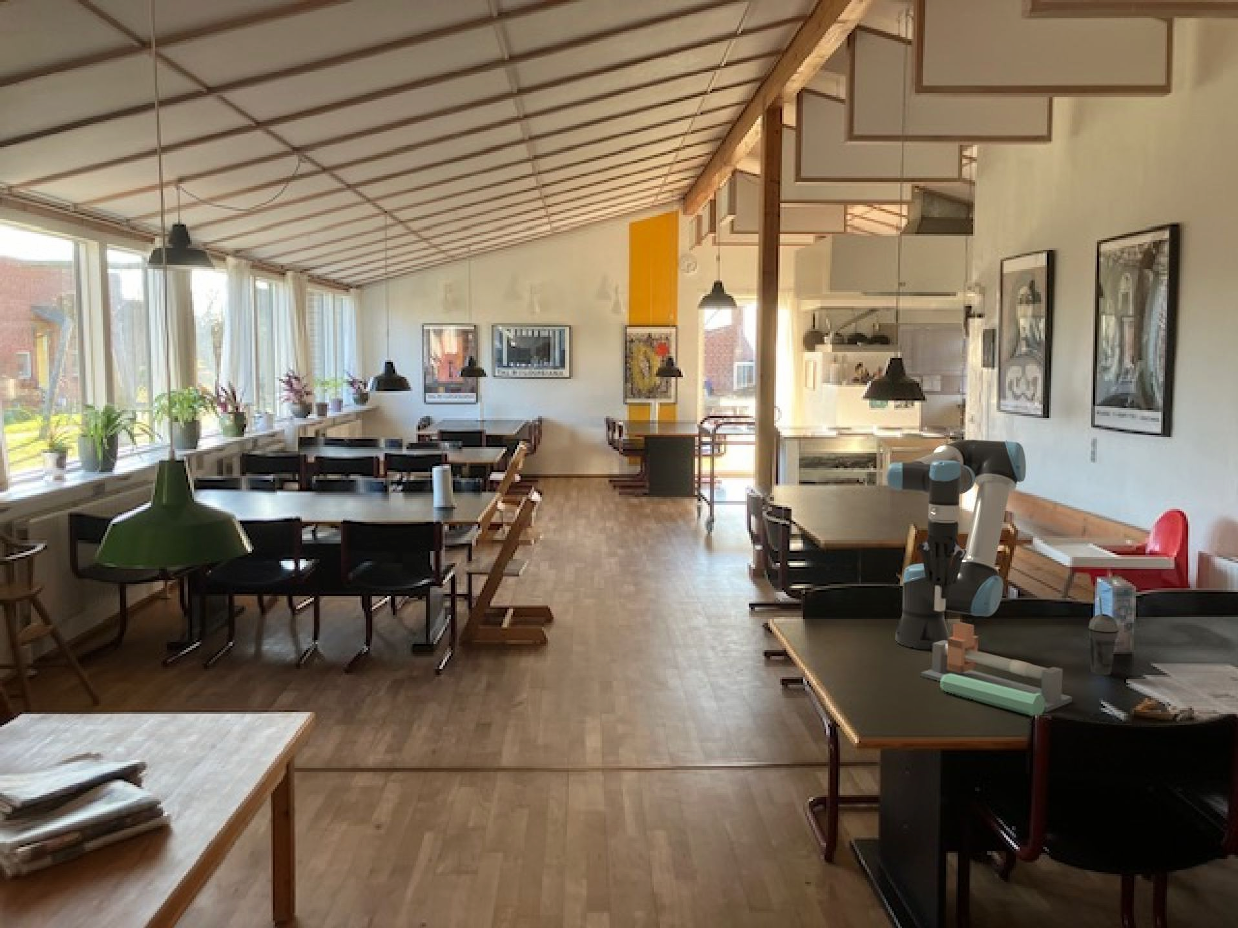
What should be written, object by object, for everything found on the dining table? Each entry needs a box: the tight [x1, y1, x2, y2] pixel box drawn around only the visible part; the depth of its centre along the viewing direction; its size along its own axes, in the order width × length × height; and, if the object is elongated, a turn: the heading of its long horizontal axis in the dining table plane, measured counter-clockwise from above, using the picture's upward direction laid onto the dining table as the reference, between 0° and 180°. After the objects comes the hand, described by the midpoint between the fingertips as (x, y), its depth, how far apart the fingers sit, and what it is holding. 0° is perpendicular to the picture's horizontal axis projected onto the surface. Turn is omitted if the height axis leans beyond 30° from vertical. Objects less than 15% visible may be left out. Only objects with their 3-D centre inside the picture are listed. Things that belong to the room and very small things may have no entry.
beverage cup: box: [1087, 597, 1119, 676], centre depth 265 cm, size 7×7×20 cm
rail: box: [920, 640, 1073, 713], centre depth 252 cm, size 34×12×9 cm, turn 39°
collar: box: [947, 622, 979, 673], centre depth 258 cm, size 4×7×12 cm, turn 129°
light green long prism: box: [939, 673, 1045, 717], centre depth 242 cm, size 6×6×25 cm
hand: (939, 609), depth 263 cm, fingers closed
